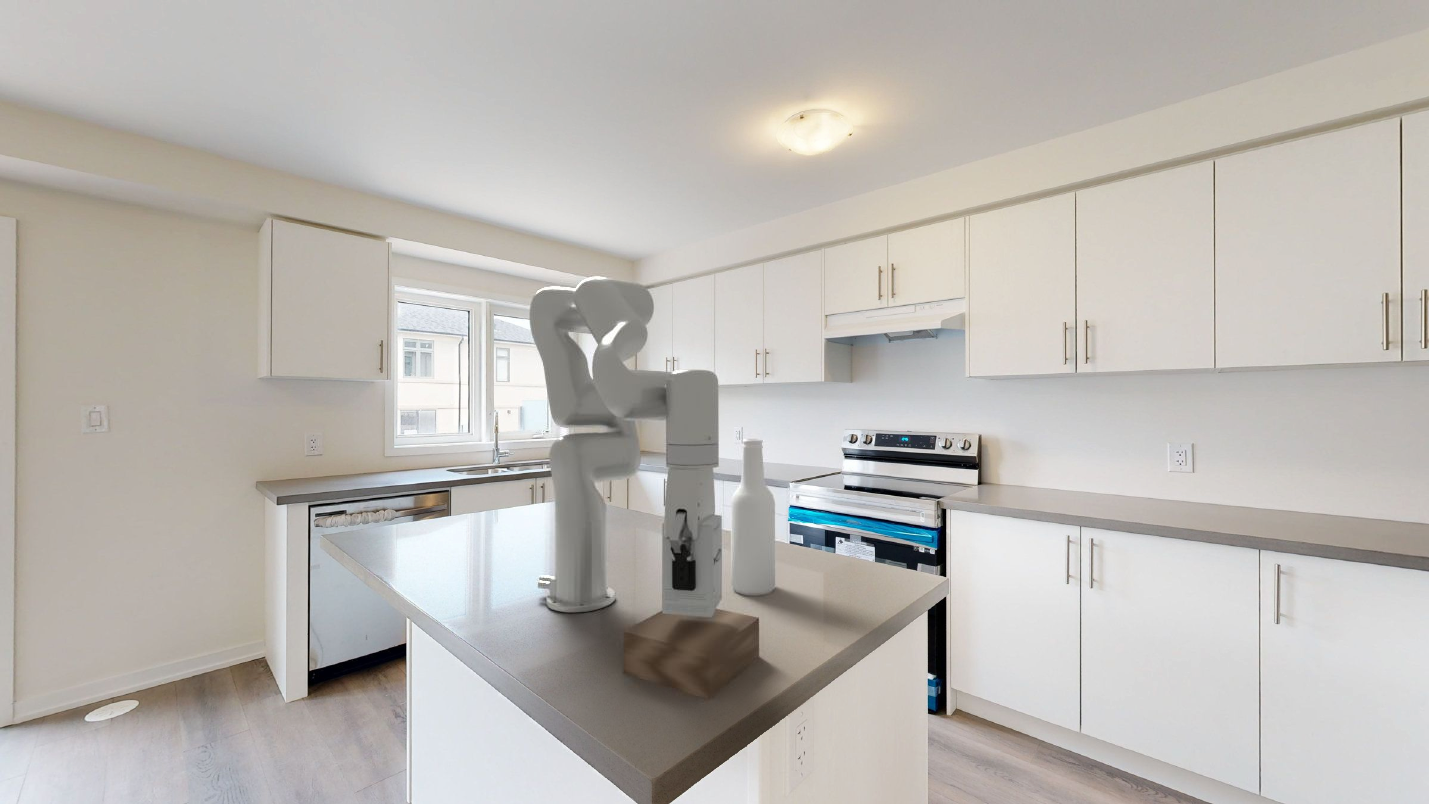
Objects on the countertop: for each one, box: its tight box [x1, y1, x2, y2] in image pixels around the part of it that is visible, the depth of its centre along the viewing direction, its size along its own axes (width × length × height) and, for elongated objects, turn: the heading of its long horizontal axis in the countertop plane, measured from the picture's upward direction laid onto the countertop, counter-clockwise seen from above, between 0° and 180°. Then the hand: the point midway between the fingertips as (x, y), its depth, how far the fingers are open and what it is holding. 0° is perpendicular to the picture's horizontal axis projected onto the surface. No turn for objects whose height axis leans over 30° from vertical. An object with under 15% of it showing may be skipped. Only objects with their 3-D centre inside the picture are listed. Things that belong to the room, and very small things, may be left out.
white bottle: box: [730, 438, 776, 597], centre depth 112 cm, size 9×9×30 cm
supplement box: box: [661, 514, 723, 617], centre depth 80 cm, size 7×7×13 cm
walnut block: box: [622, 608, 760, 700], centre depth 80 cm, size 14×14×6 cm
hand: (693, 579), depth 80 cm, fingers closed on supplement box, 7 cm apart
